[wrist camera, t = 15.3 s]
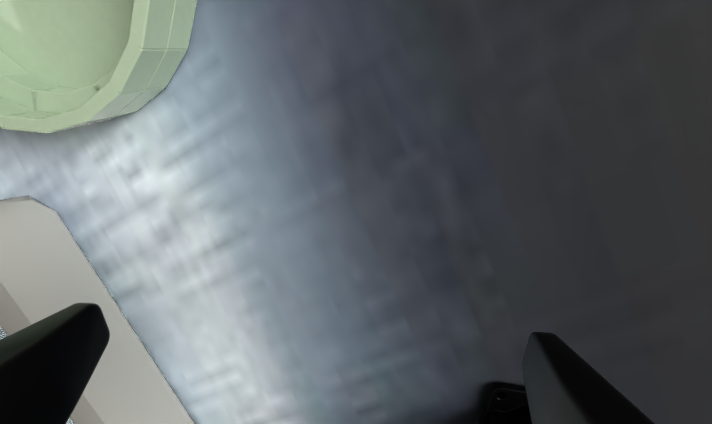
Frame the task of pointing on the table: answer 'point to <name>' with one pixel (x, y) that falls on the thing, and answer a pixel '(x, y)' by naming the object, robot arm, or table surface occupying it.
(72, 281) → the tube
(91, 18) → the bowl
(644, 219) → the table surface
